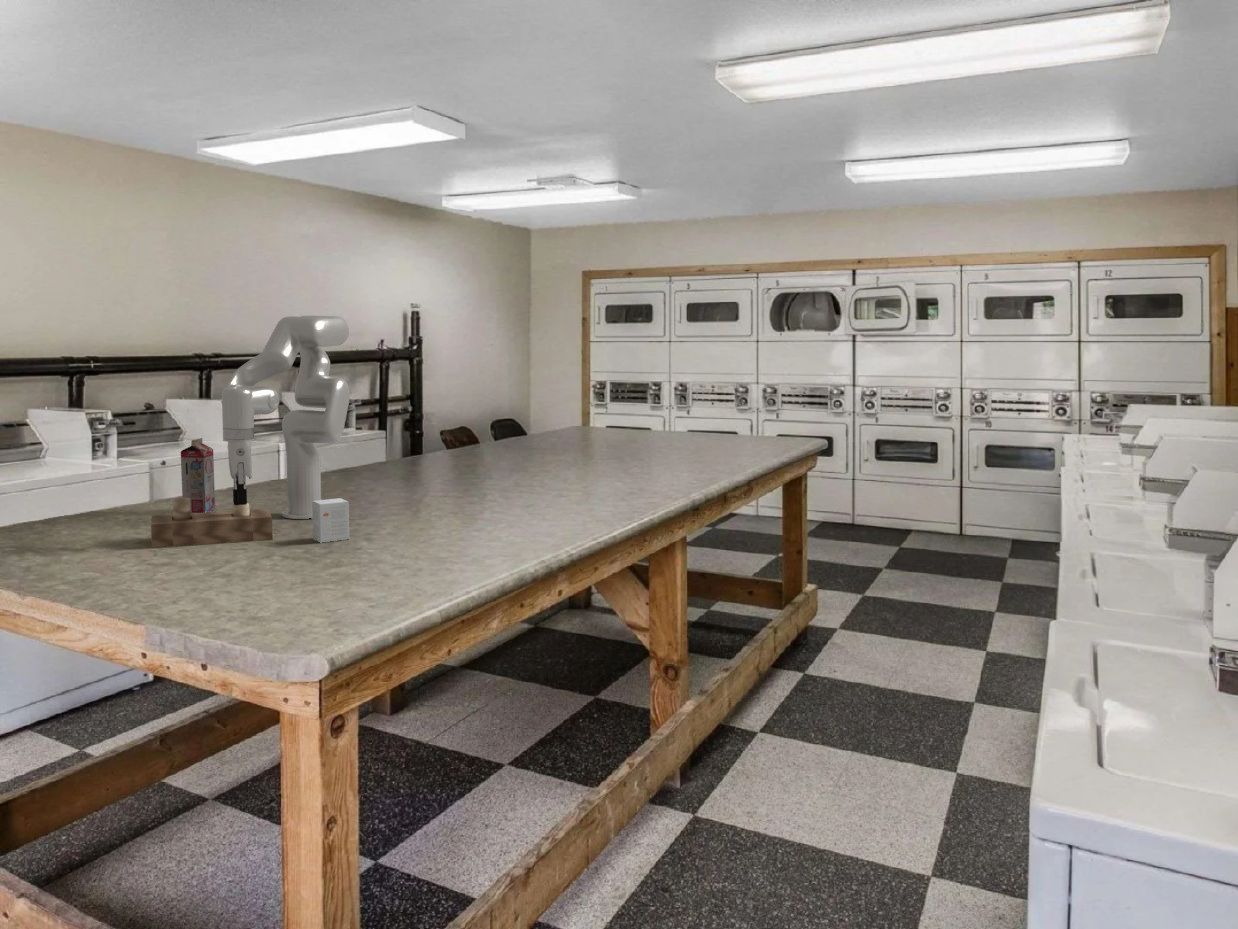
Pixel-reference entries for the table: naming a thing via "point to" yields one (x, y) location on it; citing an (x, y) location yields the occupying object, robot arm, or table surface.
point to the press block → (210, 528)
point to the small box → (330, 520)
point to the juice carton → (198, 476)
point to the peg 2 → (241, 510)
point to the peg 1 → (181, 509)
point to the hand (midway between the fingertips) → (240, 504)
